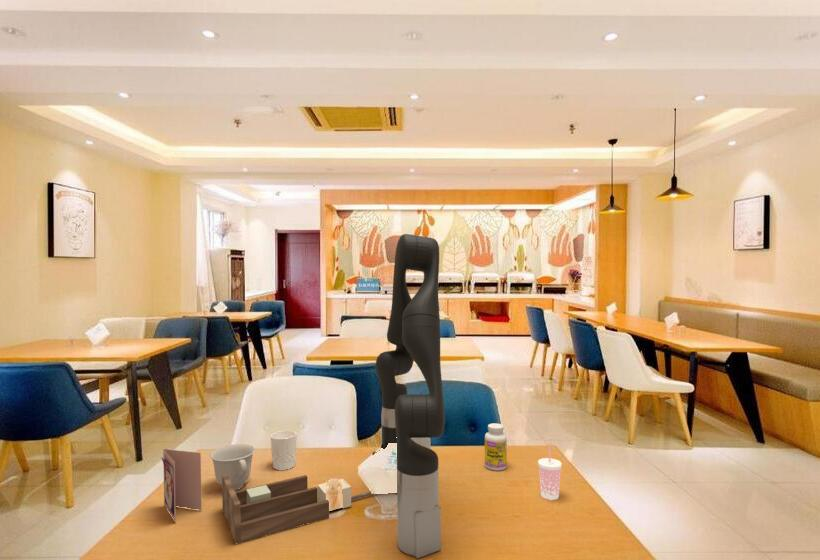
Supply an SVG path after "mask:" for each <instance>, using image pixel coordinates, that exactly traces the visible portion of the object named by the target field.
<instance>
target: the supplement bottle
mask: <svg viewBox="0 0 820 560" xmlns="http://www.w3.org/2000/svg"><path fill="white" fill-rule="evenodd" d="M487 430H488V432H487V431H486V433H485V435H484V466H485V467H486V468H487V469H488V470H491V471H497V472H498V471H503V470H505V469H506V468H507V464H508V463H507V462H508V461H507V455H508V454H507V453H508V451H507V445H508V443H507V439H508V438H507V435H506V434H505V433H504V425H503V424H502V423H498V422H497V423H489V424H488V425H487Z"/></svg>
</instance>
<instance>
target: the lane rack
mask: <svg viewBox="0 0 820 560" xmlns="http://www.w3.org/2000/svg"><path fill="white" fill-rule="evenodd" d="M264 485H267V487H268V489H269V490H270V492H271V498H269V499H265V500H261V501H257V502H253V503H249V504H247V496H246V489H251V488H255V487H259V486H264ZM221 492H222V493H221V494H222V495H221V498H222V499H221V500H222V501H221V506H222V512H223V511H224V513H223V515H224V514H225V515H224V517H226V518H225V520H226V519H227V521H226V523H227V522H228V523H227V526H228V525H229V526H228V528H230V529H229V531H230V530H231V531H230V534H231V533H232V534H231V537H232V536H233V537H232V539H234V540H233V542H234V541H235V542H234V545H235V544H236V543H240V544H242V543H241V542H243V543H245V542H244V541H247V540H250V541H252V540H251V539H254V540H256V539H255V538H257V539H259V538H258V537H261V538H263V537H262V536H264V537H266V536H265V535H268V536H270V535H269V534H271V535H274V534H273V533H275V534H278V533H281V531H282V532H284V530H285V531H288V529H289V530H292V529H294V527H296V528H298V527H297V526H299V527H301V526H300V525H303V524H306V525H308V524H307V523H310V524H312V522H313V523H316V522H315V521H317V522H319V521H323V520H327V519H329V518H330V512H329V501H328V500H325V501H321V502H318V486H314V487H310V488H308V476H307V475H306V474H305V475H300V476H297V477H291V478H289V479H288V478H287V479H283V480H279V481H278V480H277V481H274V482H270V483H266V484H261V485H258V486H254V487H253V486H252V487H248V488H243V489H238V490H234V488H233V486H232V484H231V482H230V480H229V477H228V475H227V474H224V475H222V485H221ZM303 526H304V525H303ZM291 528H292V529H291ZM277 532H278V533H277ZM247 542H248V541H247ZM236 545H237V544H236Z"/></svg>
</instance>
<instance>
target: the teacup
mask: <svg viewBox="0 0 820 560" xmlns="http://www.w3.org/2000/svg"><path fill="white" fill-rule="evenodd" d="M255 451H256V448H255V447H254V446H253V445H250V444H244V443H243V444H242V443H240V444H239V443H238V444H237V443H236V444H229V445H225V446H221V447H219V448H216V449H215V450H213V451H212V452H211V453H210V454H209V458H210V459H211V460H212V464H213V469H214V475H215V479H216V482H217V483H218V484H219V485H221V486H222V475H224V474H227V475H228V477H229V480H230V482H231V484H232V486H233V488H234V490H235V491H237V490H236V489H238V490H240V489H239V488H241V487H242V488H244V486H245V482H246V481H247V480H248V479H249V477H250V474H251V471H252V459H253V454H254V453H255ZM243 485H244V486H243ZM242 488H241V489H242Z"/></svg>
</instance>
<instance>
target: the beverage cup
mask: <svg viewBox="0 0 820 560" xmlns="http://www.w3.org/2000/svg"><path fill="white" fill-rule="evenodd" d="M551 445H552V444H551V443H548V457H544V458H540V459H538V461H537V465H538V471H539V484H540V496H541V497H542V498H543V499H545V500H550V501H551V500H552V501H553V500H558V499H559V498H560V486H561V485H560V483H561V470H562V465H563V464H562V462H561V461H560V460H558V459H556V458H552V457H551V455H552V454H551V447H552V446H551Z"/></svg>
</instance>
